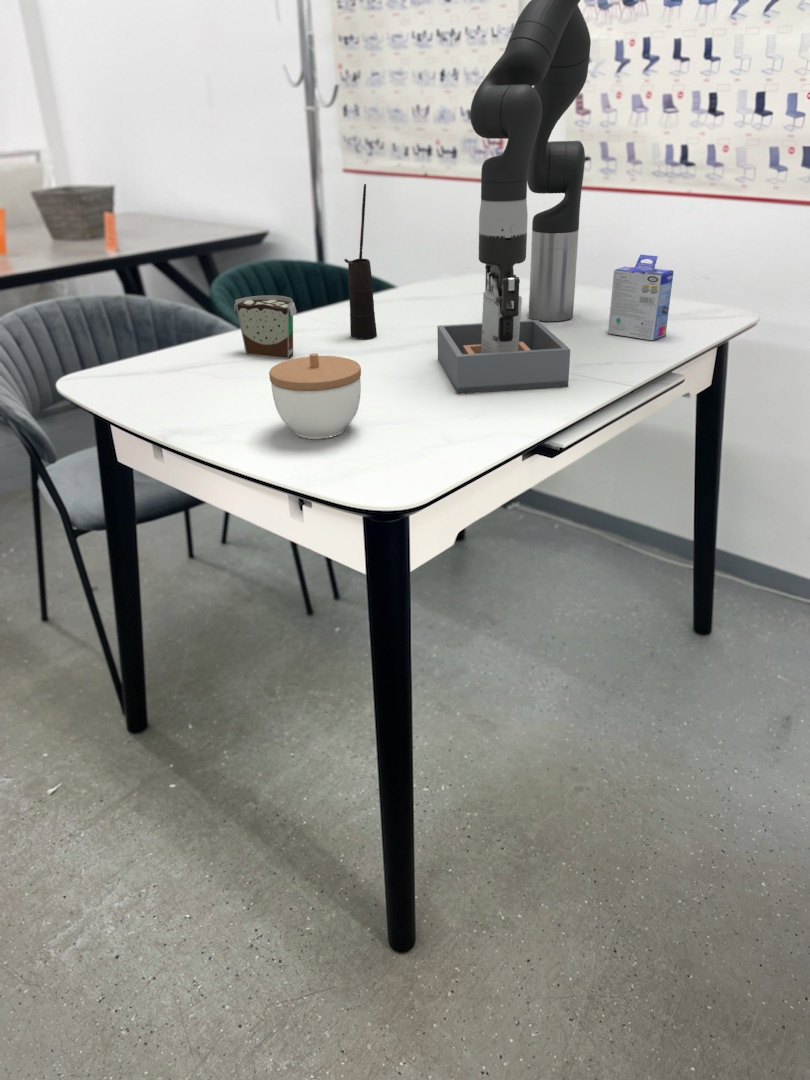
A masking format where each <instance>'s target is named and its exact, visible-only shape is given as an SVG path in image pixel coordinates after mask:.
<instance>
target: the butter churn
mask: <svg viewBox="0 0 810 1080" xmlns="http://www.w3.org/2000/svg"><path fill="white" fill-rule="evenodd" d="M362 192H363V193H362V204H361V205H362V206H361V225H360V226H361V227H360V239H359V256H358V258H355V259H352V260H349V259H348V258H344V260H343V261H344V262H345V263H346V264H347V266H348V268H347V269H348V270H347V272H348V274H347V276H348V277H347V281H348V283H347V284H348V285H347V286H348V293H349V295H348V297H349V299H348V300H349V317H350V319H349V323H350V324H349V325H350V332H349V333H350V338H354V339H356V340H373V339H375V338H376V337H377V336H378V333H377V332H378V331H377V325H376V317H375V315H376V314H375V313H376V312H375V301H374V288H373V282H372V281H373V278H372V277H373V276H372V269H371V261H370V260H369V259H368V258H363V247H364V231H365V229H364V228H365V216H366V215H365V214H366V213H365V211H366V197H367V184H366V183H364V184H363V191H362Z"/></svg>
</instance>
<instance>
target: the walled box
mask: <svg viewBox="0 0 810 1080" xmlns="http://www.w3.org/2000/svg"><path fill="white" fill-rule="evenodd" d="M436 327H437V360H438V362H439V364H440V365H441V367H442V369H443V372H444V373H445V375H446V376H447V378H448V380H449V382H450V384H451V385H452V388H453V390H454V391H455V393H456V394H457V395H459V394H460V395H462V394H461V393H464V394H475V392H480V393H490V392H491V393H492V392H507V391H521V390H522V391H524V390H525V391H526V390H536V389H537V390H538V389H540V390H541V389H550V388H551V389H552V388H554V389H555V388H566V387H567V388H568V387H569V376H570V362H571V349H570V348H569V346H567V345H566V344H565V343H564V342H563V341H562V340H560V339H559V338H558V337H557V336H556V335H555V334H554V333H553V332H552V331H550V330H549V328H547V327H546V325H544V324H543V323H542V322H540V320H535V319H531V320H527V319H526V320H520V332H519V347H518V351H510V352H494V353H481V341H482V322H480V323H479V322H477V323H459V324H443V325H437V326H436Z"/></svg>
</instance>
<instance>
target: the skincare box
mask: <svg viewBox="0 0 810 1080" xmlns="http://www.w3.org/2000/svg"><path fill="white" fill-rule="evenodd" d="M482 295H483V302H482V320H481V321H482V322H481V323H482V341H481V353H494V352H510V351H518V347H519V332H520V321H521V318H522V317H521V316H522V300H523V297H522V296H521V295H519V305H518V311H519V313H518V316H515V318H513V339H512V341H506V342H501V341H500V340H499V315H498V313H499V312H498V306H497V305H496V304H495V303H494V293H493V291H487V292H485V291H484V292H483V294H482ZM501 298H502V297H501ZM506 309H510V305H509V304H506Z"/></svg>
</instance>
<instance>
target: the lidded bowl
mask: <svg viewBox="0 0 810 1080" xmlns="http://www.w3.org/2000/svg"><path fill="white" fill-rule="evenodd" d="M268 375H269V381H270V384H271V392H272V397H273V401H274V406H275V409H276V411H277V413H278V415H279V417H280V419H281V420H282V421H283V423H284V424H285V425H286V426H287V427H288V428H289V429H291V430H292V431H293V432H294V434H295V435H296V436H297V435H298V437H299V438H301V437H302V439H306V438H308V439H307V440H319V439H318V438H326V437H330V436H335V435H338V434H340V433H342V432H343V431H344V430H345V431H346V427H348V426H349V425H350V424H351V423H352V421H353V420H354V418H355V416H356V414H357V413H358V409H359V405H360V401H361V391H362V389H361V387H362V386H361V381H362V380H361V375H362V366H361V365H360V364H359V363H358V362H357V361H356V360H354V359H351V358H347V357H342V356H336V355H335V356H334V355H319V354H318V353H316V352H315V353H314V352H313V353H310V354H309V356H302V357H297V358H290V359H286V360H284V361H282V362H279V363H277V364H275V365H273V366H272V367H271V368H270V370H269V373H268ZM345 431H344V432H345ZM344 432H343V433H344ZM343 433H342V434H343ZM340 435H341V434H340ZM338 436H339V435H338ZM335 437H336V436H335Z"/></svg>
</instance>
